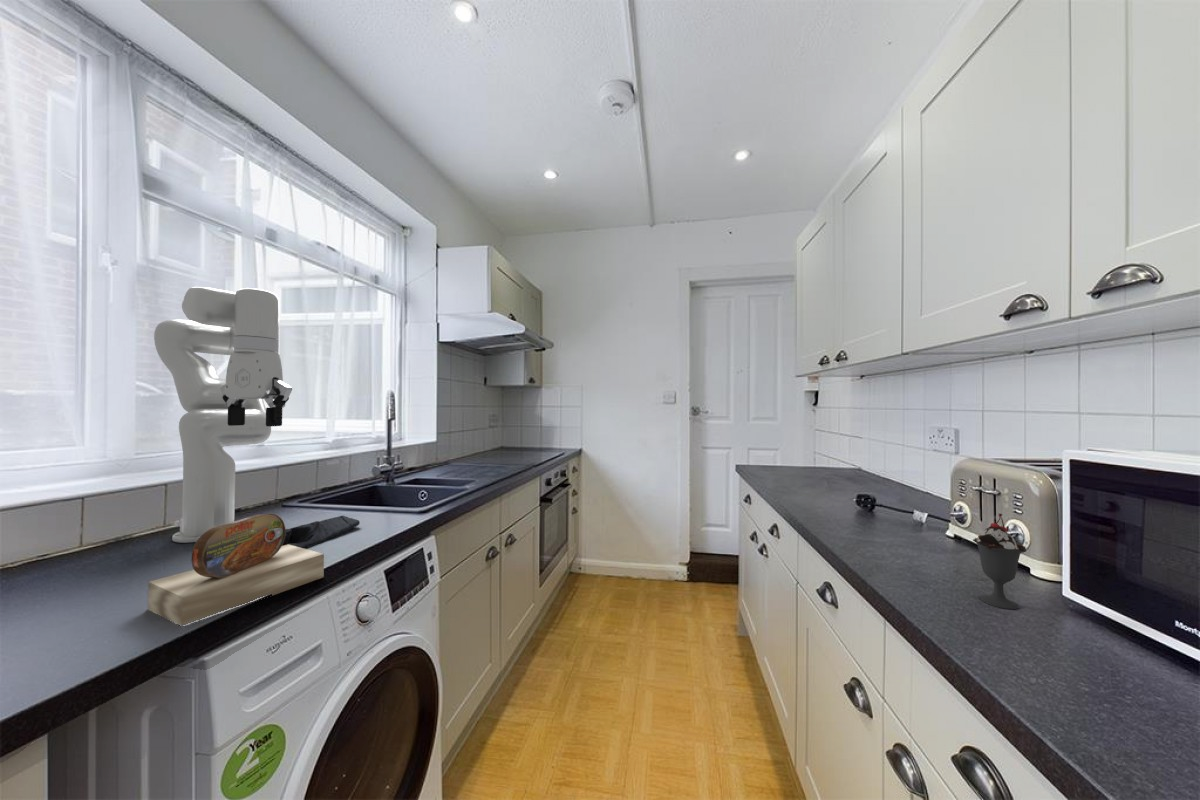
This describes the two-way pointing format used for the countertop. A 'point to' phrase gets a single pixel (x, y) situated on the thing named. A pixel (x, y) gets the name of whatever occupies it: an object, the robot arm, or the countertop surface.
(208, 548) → the tin
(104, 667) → the countertop surface
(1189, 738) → the countertop surface
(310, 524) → the dark slate chunk
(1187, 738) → the countertop surface
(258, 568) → the birch block
